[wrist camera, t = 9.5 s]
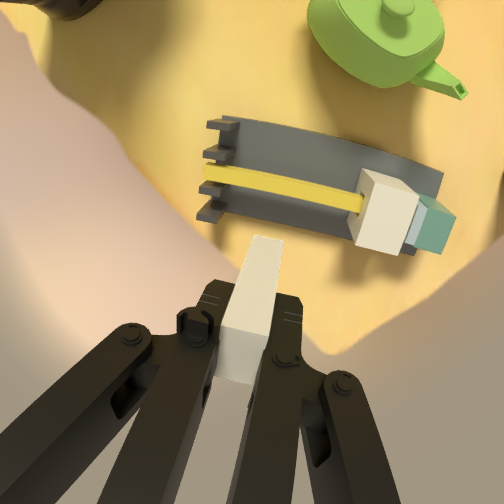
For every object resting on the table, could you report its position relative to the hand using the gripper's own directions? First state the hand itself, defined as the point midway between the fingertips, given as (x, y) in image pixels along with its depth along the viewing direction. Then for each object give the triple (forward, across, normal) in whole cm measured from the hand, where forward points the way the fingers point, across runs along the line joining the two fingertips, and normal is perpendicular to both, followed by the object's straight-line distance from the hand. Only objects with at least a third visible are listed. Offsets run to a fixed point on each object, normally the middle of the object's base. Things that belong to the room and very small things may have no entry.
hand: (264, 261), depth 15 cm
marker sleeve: (+21, +11, -1) cm, 24 cm away
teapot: (+23, +6, +19) cm, 30 cm away
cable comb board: (+22, +6, -1) cm, 23 cm away
